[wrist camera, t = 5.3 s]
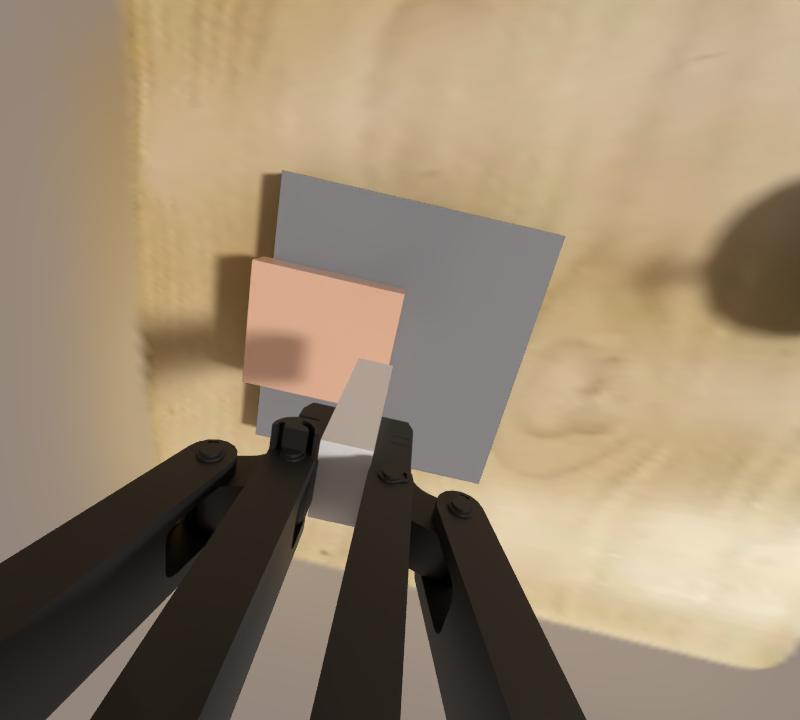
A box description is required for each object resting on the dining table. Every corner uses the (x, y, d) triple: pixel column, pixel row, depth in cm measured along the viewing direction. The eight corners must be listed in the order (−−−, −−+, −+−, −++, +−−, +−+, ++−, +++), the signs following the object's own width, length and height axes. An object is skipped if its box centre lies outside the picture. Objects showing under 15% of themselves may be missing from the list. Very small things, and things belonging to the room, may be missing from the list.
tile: (406, 288, 22) (265, 256, 22) (404, 294, 21) (252, 259, 20) (381, 399, 25) (254, 370, 24) (378, 412, 23) (242, 381, 23)
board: (291, 172, 22) (282, 170, 20) (556, 234, 22) (565, 236, 21) (264, 422, 28) (255, 434, 26) (475, 470, 28) (478, 483, 26)
